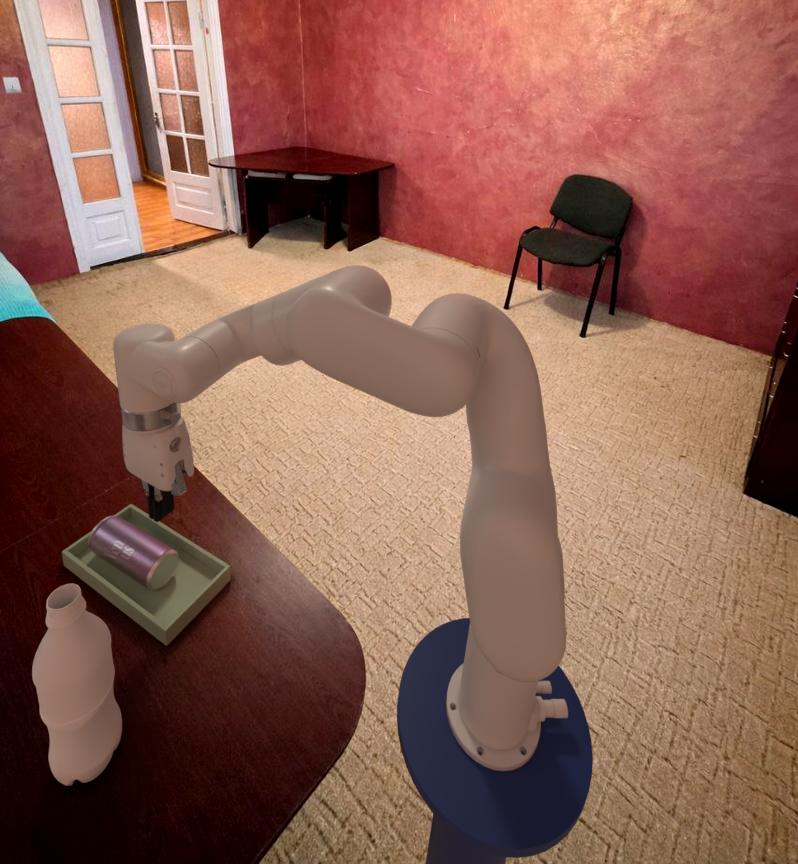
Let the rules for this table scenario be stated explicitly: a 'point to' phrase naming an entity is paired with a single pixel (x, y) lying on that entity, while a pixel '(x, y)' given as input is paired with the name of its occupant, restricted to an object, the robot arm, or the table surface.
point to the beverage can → (134, 552)
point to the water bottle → (76, 688)
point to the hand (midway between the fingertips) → (162, 513)
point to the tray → (163, 606)
